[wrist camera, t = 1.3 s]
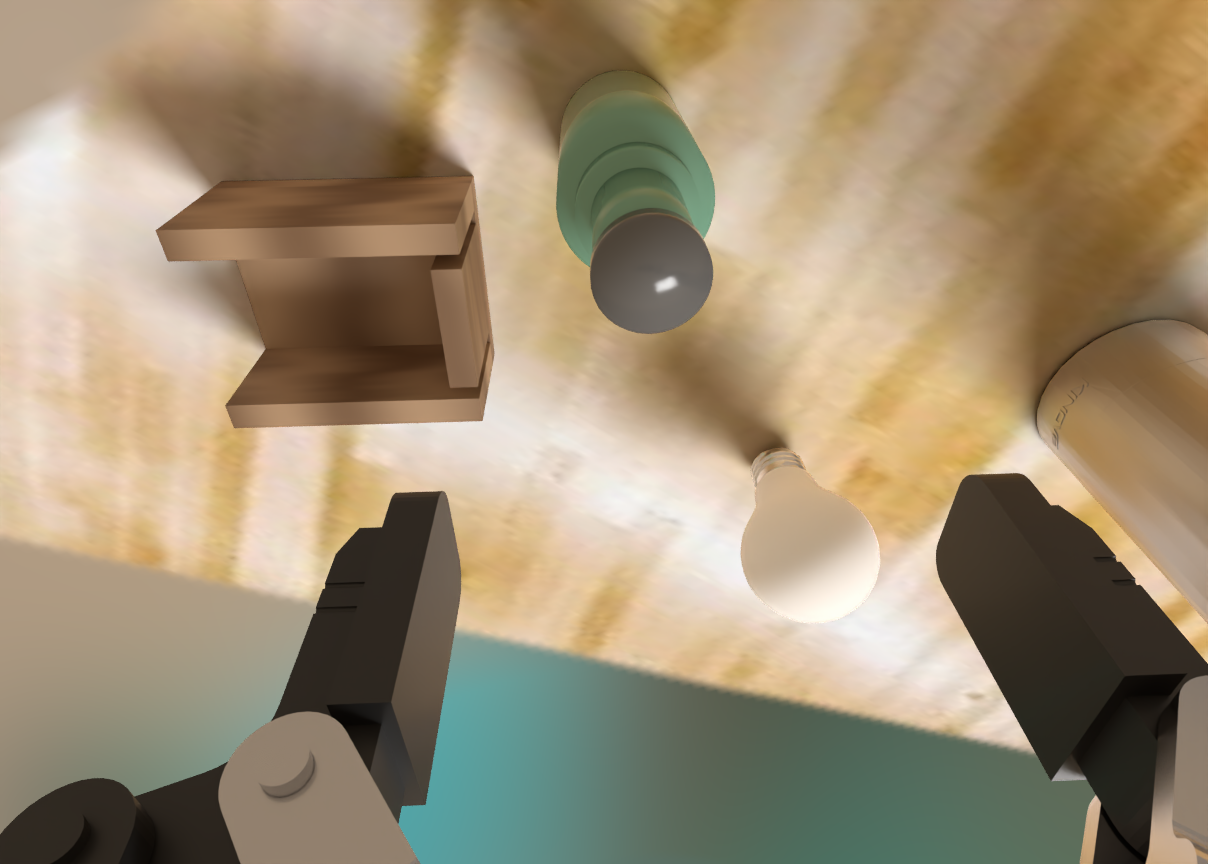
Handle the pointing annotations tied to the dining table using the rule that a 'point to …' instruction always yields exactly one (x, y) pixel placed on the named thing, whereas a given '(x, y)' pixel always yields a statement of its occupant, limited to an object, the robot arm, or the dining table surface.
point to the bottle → (635, 201)
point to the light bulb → (806, 544)
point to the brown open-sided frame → (352, 296)
